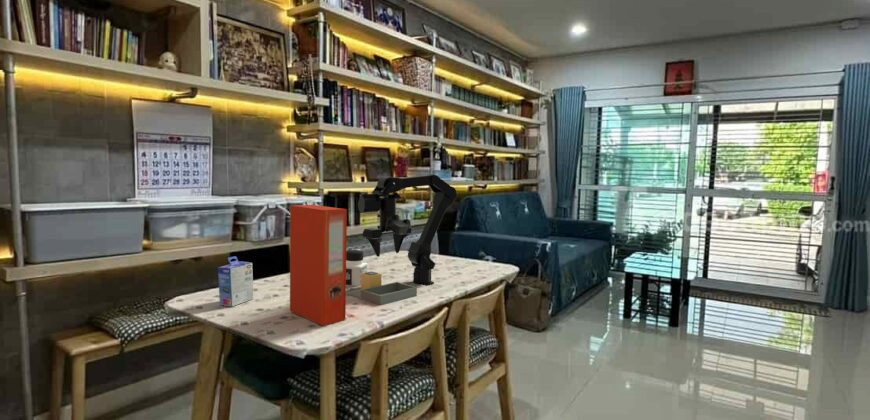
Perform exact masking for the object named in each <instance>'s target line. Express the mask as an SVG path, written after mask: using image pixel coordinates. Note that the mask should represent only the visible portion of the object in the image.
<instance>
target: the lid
mask: <svg viewBox="0 0 870 420" xmlns="http://www.w3.org/2000/svg"><path fill="white" fill-rule="evenodd" d="M346 295H349V296H352V297H355V298H357V299H361V286H350V287H347V288H346Z"/></svg>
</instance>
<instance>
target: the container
mask: <svg viewBox="0 0 870 420" xmlns="http://www.w3.org/2000/svg"><path fill="white" fill-rule="evenodd" d="M366 272H368V262H364V251H363V250H361V249H359V248H358V249H355V248H353V249H348V250H347V249H346V288H349V287H357V286H361V274H363V273H366Z"/></svg>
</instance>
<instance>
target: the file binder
mask: <svg viewBox="0 0 870 420" xmlns="http://www.w3.org/2000/svg"><path fill="white" fill-rule="evenodd" d="M289 209H290V210H289V214H290V215H289V216H290V217H289V218H290V219H289V220H290V221H289V225H290V226H289V235H290V236H289V266H290V267H289V312H292V313H293V314H296V315H298V316H300V317H303V318H305V319H307V320H309V321H312V322H314V323H316V324H318V325H321V326H326V325H331V324H335V323H339V322H343V321H345V320H346V304H347V303H346V300H347V299H346V297H347V296H346V295H347V294H346V289H347V287H346V251H347V236H348V235H347V230H348V228H347V225H348V223H347V222H348V217H347V216H348V209H346V208H340V207H339V208H338V207H332V206H324V205H319V204H318V205H316V204H298V205H297V204H295V205H290V206H289Z"/></svg>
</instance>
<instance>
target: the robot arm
mask: <svg viewBox="0 0 870 420" xmlns="http://www.w3.org/2000/svg"><path fill="white" fill-rule="evenodd" d="M423 186H424V187H425V186H428V187H429V188H430V190H431V192H433V193H434V196H433V207H432V209H431V211H430V214H429V215H428V216H429V217H428V218H427V221H426V223H425V225H424V228H423V229H422V232H421V234H420V237H419V239H418V240H417V241H416V242H415V241H412V242H411V243H410V246H409V248H408V249H407V258H408V260H409V262H410V263H411V265H412V267H414V268H413V273H412V275H413V276H412V277H413V279H412V281H411V283H414V284H417V285H421V286H428V285H432V284H435V282H434V281H433V280H432V270H434V269H435V266H436V263H435V262H434V260H433V259H432V258H431V254H432V242H433V241H434V238H435V237H436V233H437V231H438V229H439V226H440V225H441V221H442V220H443V217H444V215H445V213H446V211H447V210H448V208H449V207H451V206H452V205H453V203H454V202H455V200H456V199H457V196H458V192H457V190H456V188H455V187H454V186H451V185H450V184H448V183H447V182H446V181H444V180H443V179H442V178H440V176H439V175H438V174H435V173H428V174H422V175H414V176H406V177H397V176H384V175H383V176H380V177H379V179H378V180H377V184H376V186H375V187H374V189H373V190H372V192H371V193H363V192H362V193H360V197H359V198H358V203H357V207H358V211H359V213H360V214H371V213H378V212H379V213H378V214H377V216H376V217H377V218H379V225H377V228H374V227H368V228H364V229H363V231H362V237H363V238H365V239H366V240H368V242H369V243H370V246H372V249H373V251H374V253H375V256H376V257H380V255H381V242H382V240H383V237H382V236H383V235H388V234H392V239H393V245H394V251H395V253H396V254H399V252H400V250H401V247H402V244H403V241H404V239H406V237H407V236H409V234H411V233H412V227H411V220H410V219H409V218H407V219H406V218H405V219H400V216H399V214H397V211H396V210H397V201H396V200H398V199H399V200H401V199H402V196H400V195H399V194H398V192H400V191H402V190H405V189H409V188H417V187H423Z"/></svg>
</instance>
